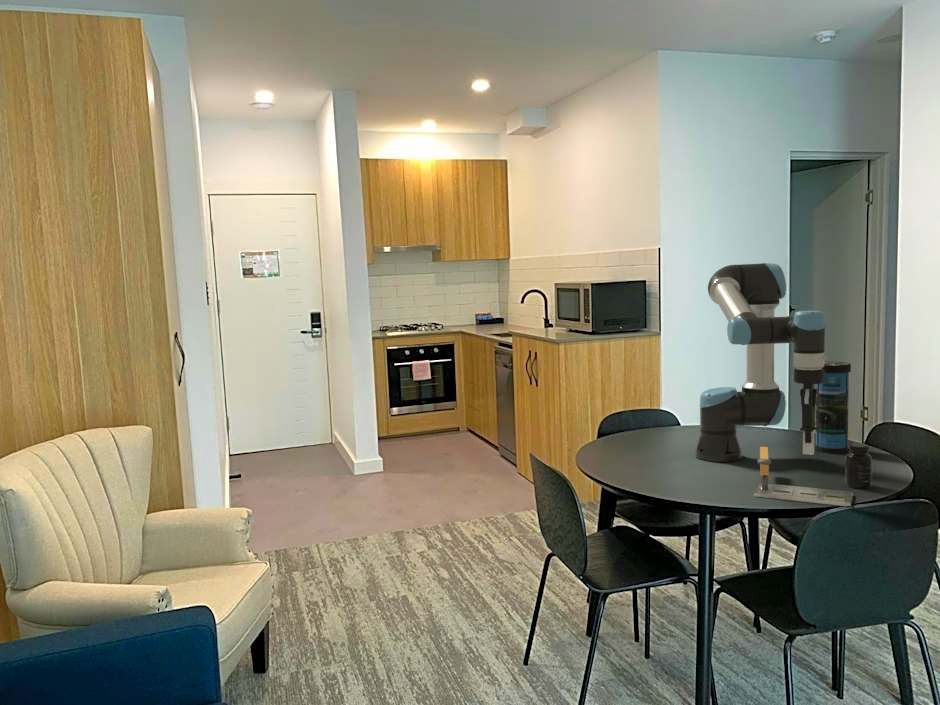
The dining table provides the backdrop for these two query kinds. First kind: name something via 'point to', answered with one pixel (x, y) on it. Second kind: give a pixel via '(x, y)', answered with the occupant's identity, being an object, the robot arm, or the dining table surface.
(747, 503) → the dining table surface
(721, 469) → the dining table surface
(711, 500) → the dining table surface
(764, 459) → the swing arm
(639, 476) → the dining table surface
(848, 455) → the supplement bottle
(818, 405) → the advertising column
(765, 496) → the tray
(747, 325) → the robot arm
